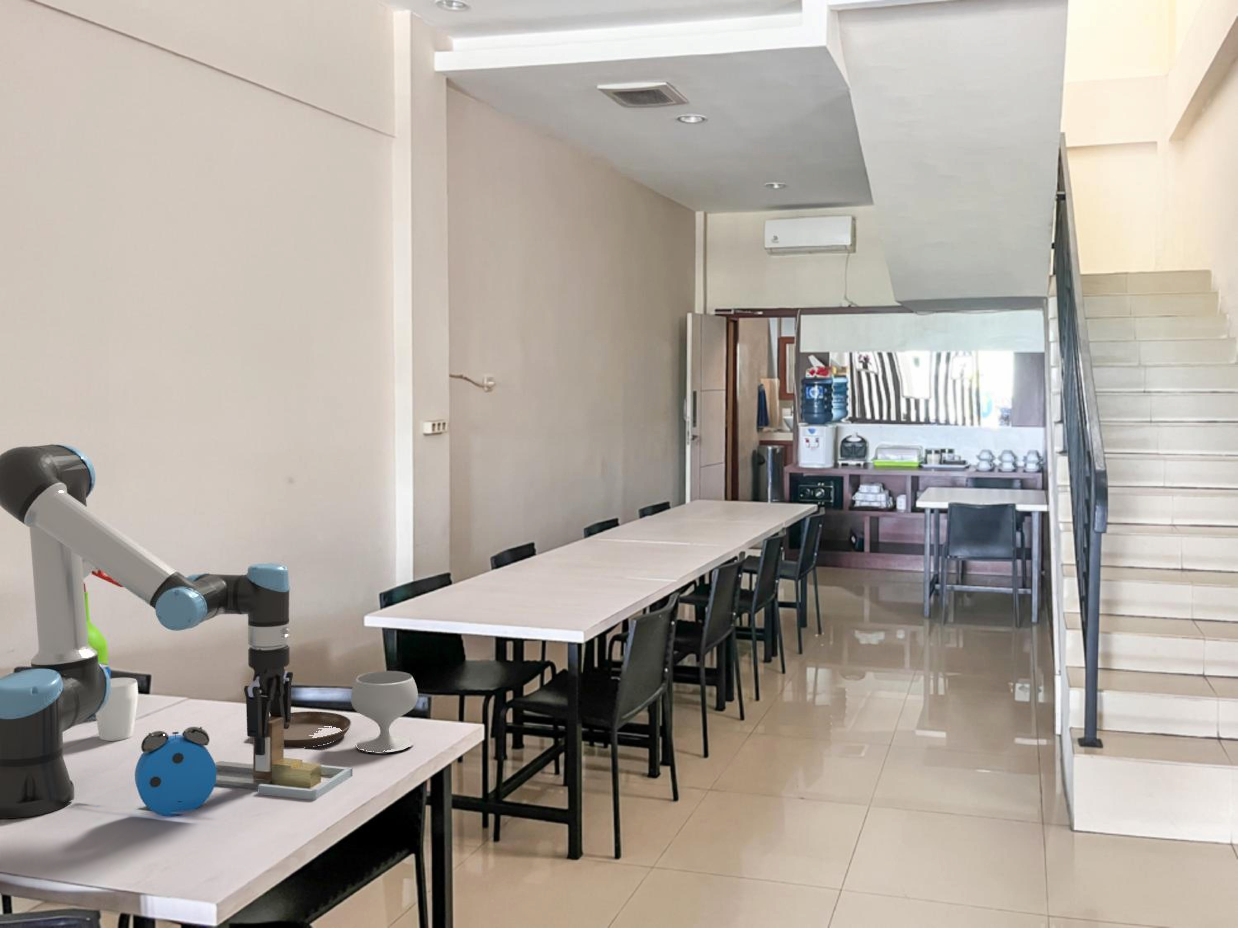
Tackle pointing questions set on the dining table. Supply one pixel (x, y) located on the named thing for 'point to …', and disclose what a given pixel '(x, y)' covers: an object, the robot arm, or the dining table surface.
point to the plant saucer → (313, 728)
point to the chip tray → (313, 794)
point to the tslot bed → (237, 775)
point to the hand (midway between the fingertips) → (269, 766)
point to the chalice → (384, 705)
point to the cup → (118, 710)
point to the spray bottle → (93, 633)
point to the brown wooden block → (272, 746)
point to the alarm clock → (175, 771)
